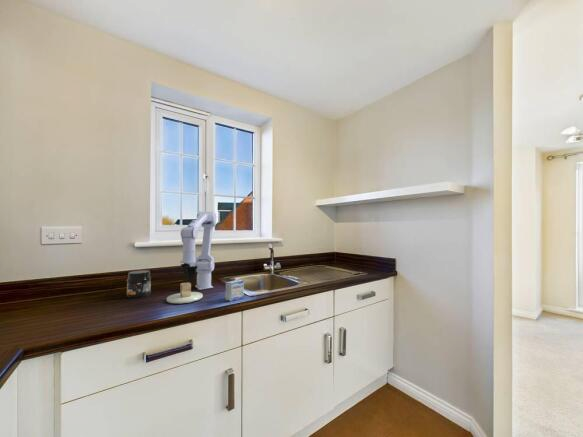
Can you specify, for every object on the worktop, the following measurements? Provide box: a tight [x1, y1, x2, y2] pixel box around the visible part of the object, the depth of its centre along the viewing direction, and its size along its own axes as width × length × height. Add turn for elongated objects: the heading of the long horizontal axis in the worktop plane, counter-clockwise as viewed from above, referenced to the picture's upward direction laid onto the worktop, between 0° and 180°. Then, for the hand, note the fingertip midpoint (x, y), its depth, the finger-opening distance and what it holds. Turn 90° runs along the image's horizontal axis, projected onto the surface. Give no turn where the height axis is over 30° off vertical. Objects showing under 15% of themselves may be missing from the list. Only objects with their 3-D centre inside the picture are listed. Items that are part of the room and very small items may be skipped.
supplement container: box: [126, 269, 152, 299], centre depth 126 cm, size 10×10×12 cm
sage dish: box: [166, 291, 204, 304], centre depth 118 cm, size 16×16×2 cm
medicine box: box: [225, 279, 245, 302], centre depth 119 cm, size 8×4×9 cm, turn 143°
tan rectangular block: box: [179, 282, 192, 298], centre depth 119 cm, size 4×4×6 cm
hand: (188, 279), depth 121 cm, fingers open, 7 cm apart
